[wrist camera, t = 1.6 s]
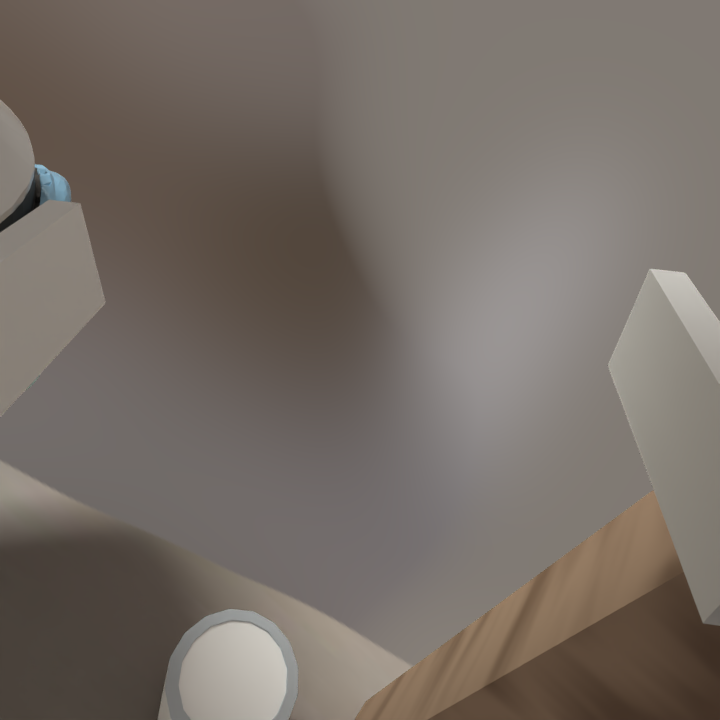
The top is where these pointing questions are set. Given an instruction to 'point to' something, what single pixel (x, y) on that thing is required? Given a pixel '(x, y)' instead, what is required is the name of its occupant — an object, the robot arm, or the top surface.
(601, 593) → the brown wooden tall block
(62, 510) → the top surface
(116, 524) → the top surface
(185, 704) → the white cup
